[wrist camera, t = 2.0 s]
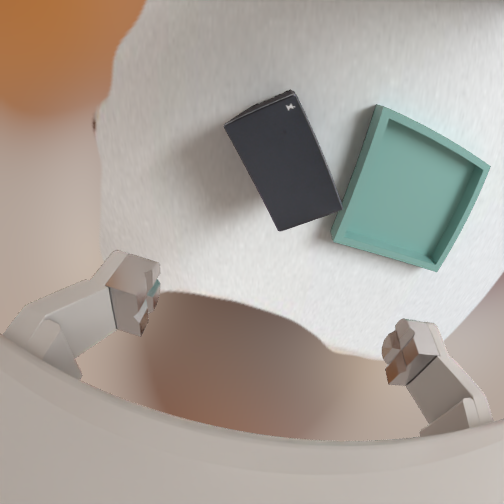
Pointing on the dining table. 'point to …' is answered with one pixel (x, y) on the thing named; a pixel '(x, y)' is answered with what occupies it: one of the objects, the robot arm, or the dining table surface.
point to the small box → (285, 161)
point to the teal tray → (408, 192)
